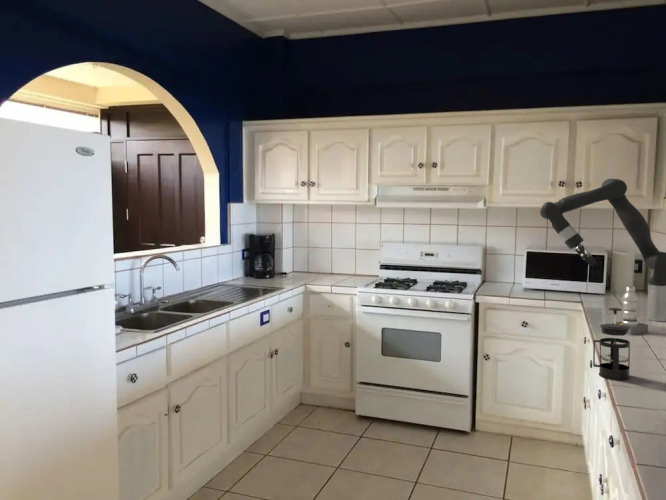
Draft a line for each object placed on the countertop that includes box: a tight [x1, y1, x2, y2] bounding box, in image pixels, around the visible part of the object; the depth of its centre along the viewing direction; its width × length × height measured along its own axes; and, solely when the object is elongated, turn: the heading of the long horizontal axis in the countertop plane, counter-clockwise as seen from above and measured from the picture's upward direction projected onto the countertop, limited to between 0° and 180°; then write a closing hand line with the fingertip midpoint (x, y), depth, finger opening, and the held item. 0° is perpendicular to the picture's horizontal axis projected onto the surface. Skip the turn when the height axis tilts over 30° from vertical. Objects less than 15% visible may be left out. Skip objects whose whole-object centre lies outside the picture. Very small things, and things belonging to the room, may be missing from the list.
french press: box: [592, 307, 631, 381], centre depth 187 cm, size 12×9×23 cm
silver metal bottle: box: [621, 286, 639, 326], centre depth 250 cm, size 6×7×20 cm
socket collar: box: [611, 320, 649, 336], centre depth 251 cm, size 10×10×4 cm
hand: (593, 264), depth 263 cm, fingers open, 8 cm apart
